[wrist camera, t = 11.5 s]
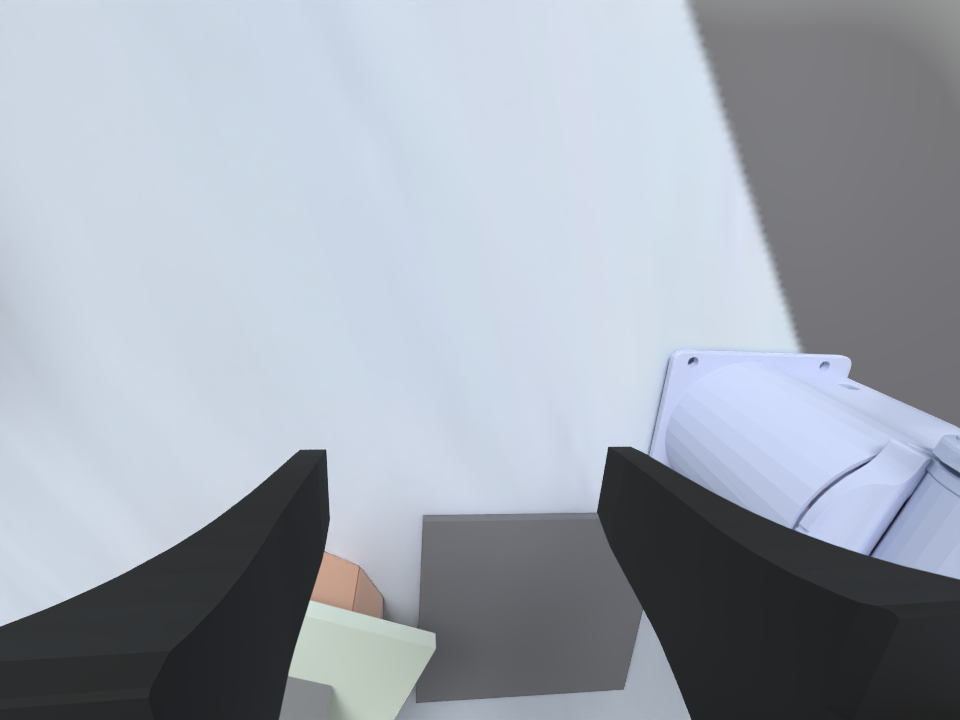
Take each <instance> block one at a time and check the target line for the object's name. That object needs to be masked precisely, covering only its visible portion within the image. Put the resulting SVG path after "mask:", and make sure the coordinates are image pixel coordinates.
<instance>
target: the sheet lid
mask: <svg viewBox="0 0 960 720" xmlns="http://www.w3.org/2000/svg"><path fill="white" fill-rule="evenodd" d="M435 649H436V637H435V633H432V632H428V631H425V630H421V629H417V628H413V627H409V626H406V625H402V624H398V623H394V622H390V621H387V620H383V619H379V618H375V617H372V616H368V615H364V614H360V613H356V612H353V611H349V610H345V609H341V608H337V607H334V606H330V605H326V604H322V603H318V602H315V601H311V600H310V602H309V605H308V608H307V611H306V615H305V618H304V621H303V624H302V627H301V630H300V634H299V637H298V640H297V643H296V646H295V650H294V654H293V658H292V661H291V665H290V669H289V674H288V679H287V683H286V688H285V693H284V698H283V703H282V707H281V712H280V717H279V720H394V719H395V718H396V716H397V714H398V712H399V711H400V709H401V707H402V706H403V704H404V702H405V701H406V699H407V697H408V695H409V694H410V692H411V690H412V689H413V687H414V685H415V684H416V682H417V680H418V678H419V677H420V675H421V673H422V672H423V670H424V668H425V666H426V665H427V663H428V661H429V660H430V658H431V656H432V655H433V653H434V651H435Z"/></svg>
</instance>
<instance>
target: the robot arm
mask: <svg viewBox="0 0 960 720" xmlns="http://www.w3.org/2000/svg"><path fill="white" fill-rule="evenodd" d="M692 357H694V361H693V362H692V363H691V364H688V361H689V359H690V358H692ZM821 363H823V365H822V366H821V367H820V365H821ZM850 368H851V361H850V359H849V358H848V357H845V356H842V355H826V354H825V355H824V354H796V353H767V352H738V351H708V350H677V351H676V352H674V353H673V354H672V355H671V358H670V361H669V366H668V370H667V375H666V380H665V384H664V389H663V394H662V398H661V403H660V408H659V412H658V417H657V422H656V426H655V431H654V436H653V440H652V445H651V450H650V454H649V456H648V455H646V454H645V453H643V452H641V451H639V450H637V449H634V448H632V447H608V452H607V458H606V464H605V469H604V475H603V481H602V487H601V493H600V498H599V504H598V510H597V513H598V516H599V519H600V522H601V525H602V527H603V530H604V533H605V535H606V538H607V541H608V543H609V546H610V548H611V550H612V552H613V554H614V556H615V557H616V559H617V561H618V563H619V565H620V567H621V569H622V571H623V573H624V574H625V576H626V578H627V580H628V582H629V584H630V586H631V587H632V589H633V591H634V593H635V595H636V597H637V598H638V600H639V602H640V604H641V606H642V608H643V609H644V611H645V613H646V615H647V617H648V619H649V621H650V622H651V624H652V626H653V628H654V630H655V633H656V635H657V637H658V639H659V641H660V643H661V645H662V648H663V650H664V652H665V655H666V657H667V660H668V662H669V664H670V667H671V669H672V672H673V674H674V676H675V679H676V681H677V684H678V686H679V689H680V691H681V694H682V696H683V699H684V702H685V704H686V707H687V709H688V712H689V714H690V717H691V720H960V428H958V427H956V426H954V425H952V424H949V423H947V422H945V421H943V420H941V419H938V418H936V417H934V416H931V415H929V414H927V413H925V412H922V411H920V410H918V409H916V408H914V407H911V406H909V405H907V404H905V403H902V402H900V401H898V400H895V399H893V398H891V397H889V396H887V395H884V394H882V393H880V392H878V391H875V390H873V389H870V388H869V387H866V386H864V385H862V384H859V383H857V382H855V381H853V380H851V379H848V378H847V377H848V374H849V371H850ZM329 521H330V515H329V495H328V475H327V455H326V450H299V451H298V452H297V453H296V454H295V455H294V456H292V457H291V458H290V459H289V460H288V461H287V462H286V463H284V464H283V465H282V466H281V467H280V468H279V469H278V470H277V471H275V472H274V473H273V474H272V475H271V476H270V477H269V478H267V479H266V480H265V481H264V482H263V483H262V484H260V485H259V486H258V487H257V488H256V489H254V490H253V491H252V492H251V493H250V494H248V495H247V496H246V497H244V498H243V499H242V500H241V501H239V502H238V503H237V504H235V505H234V506H233V507H231V508H230V509H229V510H227V511H226V512H225V513H223V514H222V515H221V516H220V517H218V518H217V519H215V520H214V521H213V522H211V523H210V524H208V525H207V526H205V527H204V528H202V529H201V530H199V531H198V532H196V533H194V534H193V535H191V536H190V537H188V538H187V539H185V540H183V541H182V542H180V543H179V544H177V545H175V546H174V547H172V548H170V549H168V550H167V551H165V552H163V553H161V554H159V555H157V556H156V557H154V558H152V559H150V560H148V561H146V562H145V563H143V564H141V565H139V566H137V567H135V568H133V569H132V570H130V571H128V572H126V573H124V574H122V575H120V576H118V577H116V578H114V579H112V580H110V581H108V582H106V583H104V584H101V585H99V586H97V587H95V588H93V589H91V590H89V591H86V592H84V593H82V594H80V595H77V596H75V597H73V598H71V599H68V600H66V601H64V602H62V603H59V604H57V605H54V606H52V607H50V608H47V609H45V610H43V611H40V612H37V613H35V614H32V615H30V616H27V617H24V618H22V619H19V620H17V621H14V622H11V623H9V624H6V625H4V626H1V627H0V720H279V717H280V712H281V707H282V703H283V698H284V693H285V688H286V683H287V679H288V674H289V669H290V665H291V661H292V658H293V654H294V650H295V646H296V643H297V640H298V637H299V634H300V630H301V627H302V624H303V621H304V618H305V615H306V611H307V608H308V605H309V602H310V599H311V595H312V592H313V589H314V586H315V583H316V579H317V576H318V573H319V569H320V566H321V563H322V559H323V555H324V550H325V544H326V539H327V533H328V527H329Z"/></svg>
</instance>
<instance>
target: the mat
mask: <svg viewBox="0 0 960 720" xmlns="http://www.w3.org/2000/svg"><path fill="white" fill-rule="evenodd" d="M642 611H643V608H642V606H641V604H640V602H639V600H638V598H637V597H636V595H635V593H634V591H633V589H632V587H631V586H630V584H629V582H628V580H627V578H626V576H625V574H624V573H623V571H622V569H621V567H620V565H619V563H618V561H617V559H616V557H615V556H614V554H613V552H612V550H611V548H610V546H609V543H608V541H607V538H606V535H605V533H604V530H603V527H602V525H601V522H600V519H599V516H598V513H560V514H485V515H423V529H422V555H421V581H420V607H419V629H421V630H425V631H428V632H432V633H435V637H436V649H435V651H434V653H433V655H432V656H431V658H430V660H429V661H428V663H427V665H426V666H425V668H424V670H423V672H422V673H421V675H420V677H419V678H418V680H417V685H416V703H422V702H438V701H453V700H469V699H484V698H500V697H515V696H531V695H546V694H562V693H577V692H593V691H608V690H624V686H625V682H626V678H627V674H628V669H629V665H630V661H631V657H632V653H633V648H634V644H635V640H636V636H637V632H638V627H639V623H640V619H641V615H642Z"/></svg>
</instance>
